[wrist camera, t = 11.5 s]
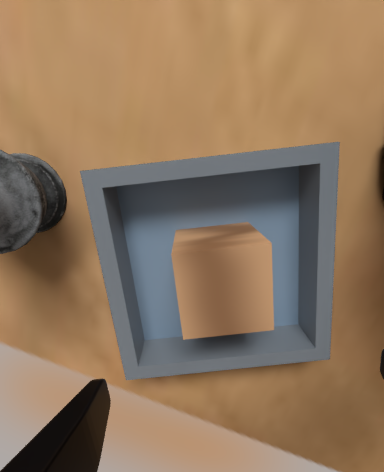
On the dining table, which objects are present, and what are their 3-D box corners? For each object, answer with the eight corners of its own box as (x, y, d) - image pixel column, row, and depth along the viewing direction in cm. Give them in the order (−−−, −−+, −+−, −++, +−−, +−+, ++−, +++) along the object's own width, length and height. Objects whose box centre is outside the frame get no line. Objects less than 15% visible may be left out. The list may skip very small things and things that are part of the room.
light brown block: (248, 221, 17) (271, 243, 12) (251, 287, 18) (274, 330, 14) (175, 229, 17) (171, 254, 12) (184, 294, 19) (183, 339, 14)
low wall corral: (312, 146, 16) (339, 141, 13) (309, 331, 20) (329, 359, 17) (98, 170, 16) (80, 171, 13) (135, 349, 20) (126, 380, 17)
